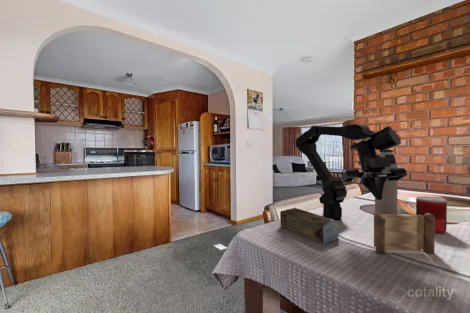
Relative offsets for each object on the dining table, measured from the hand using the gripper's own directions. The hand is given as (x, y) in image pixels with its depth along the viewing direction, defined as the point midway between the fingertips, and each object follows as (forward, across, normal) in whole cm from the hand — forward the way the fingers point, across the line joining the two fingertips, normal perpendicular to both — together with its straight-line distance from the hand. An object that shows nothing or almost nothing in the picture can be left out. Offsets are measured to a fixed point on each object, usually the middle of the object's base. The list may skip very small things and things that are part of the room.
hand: (379, 199), depth 72 cm
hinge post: (+16, +7, -4) cm, 18 cm away
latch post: (+16, -6, -6) cm, 18 cm away
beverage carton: (+9, -23, +7) cm, 26 cm away
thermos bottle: (0, +15, +28) cm, 32 cm away
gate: (+15, -1, -4) cm, 15 cm away
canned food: (+8, +20, +12) cm, 25 cm away
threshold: (+16, 0, -4) cm, 16 cm away
